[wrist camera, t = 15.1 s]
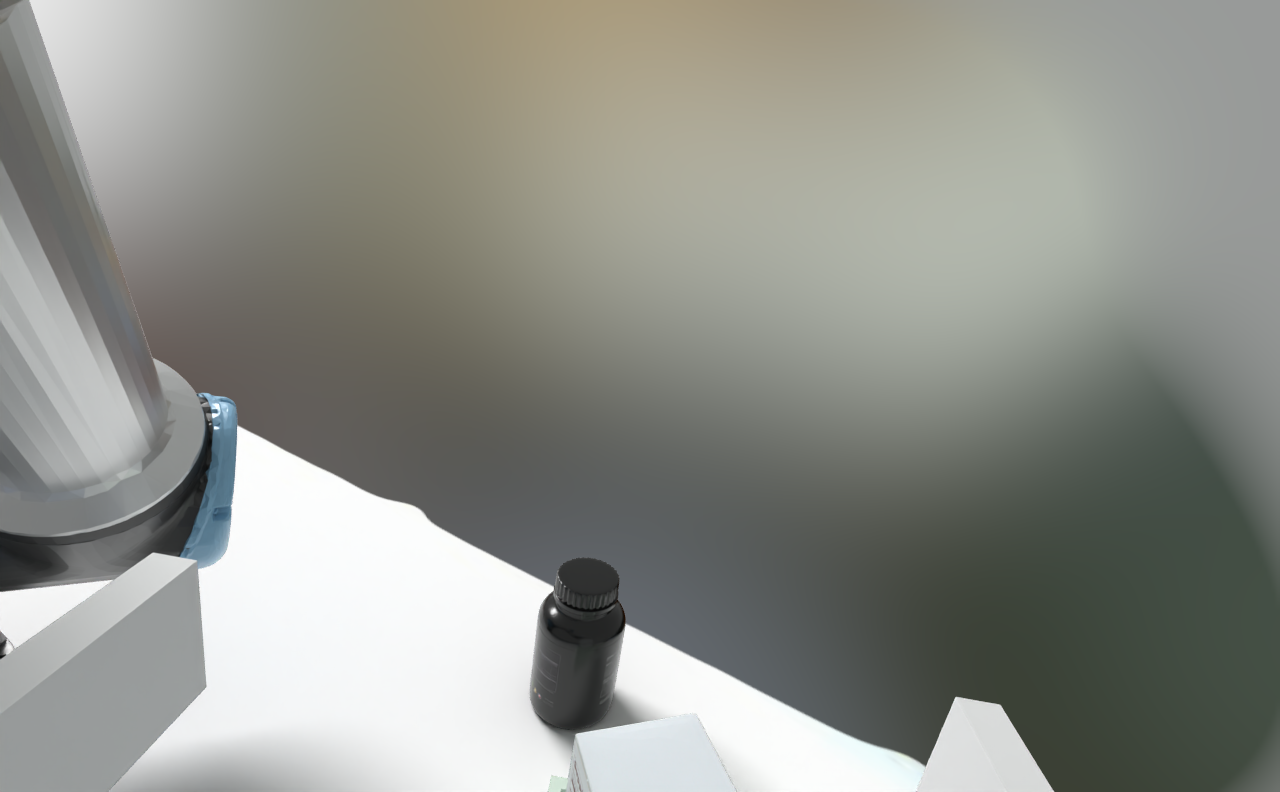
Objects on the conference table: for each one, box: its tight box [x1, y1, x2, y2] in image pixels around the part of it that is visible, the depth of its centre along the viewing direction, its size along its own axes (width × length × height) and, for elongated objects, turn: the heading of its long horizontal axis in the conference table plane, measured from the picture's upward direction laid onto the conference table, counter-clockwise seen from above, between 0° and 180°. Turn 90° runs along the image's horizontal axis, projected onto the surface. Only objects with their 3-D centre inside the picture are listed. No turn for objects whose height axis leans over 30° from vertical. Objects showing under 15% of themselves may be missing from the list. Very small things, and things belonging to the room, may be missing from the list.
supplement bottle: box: [530, 558, 626, 729], centre depth 49 cm, size 7×7×12 cm
